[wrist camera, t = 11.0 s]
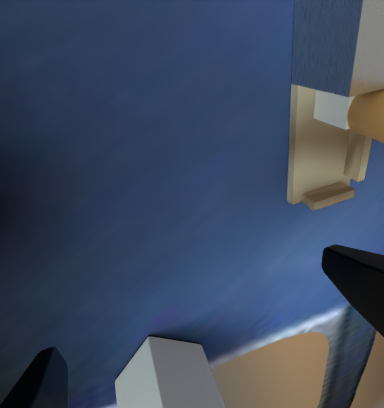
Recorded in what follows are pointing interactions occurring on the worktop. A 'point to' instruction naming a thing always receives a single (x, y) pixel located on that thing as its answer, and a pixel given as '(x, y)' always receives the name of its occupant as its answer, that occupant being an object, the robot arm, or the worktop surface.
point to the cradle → (321, 155)
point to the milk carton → (168, 377)
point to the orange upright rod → (353, 112)
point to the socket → (338, 46)
